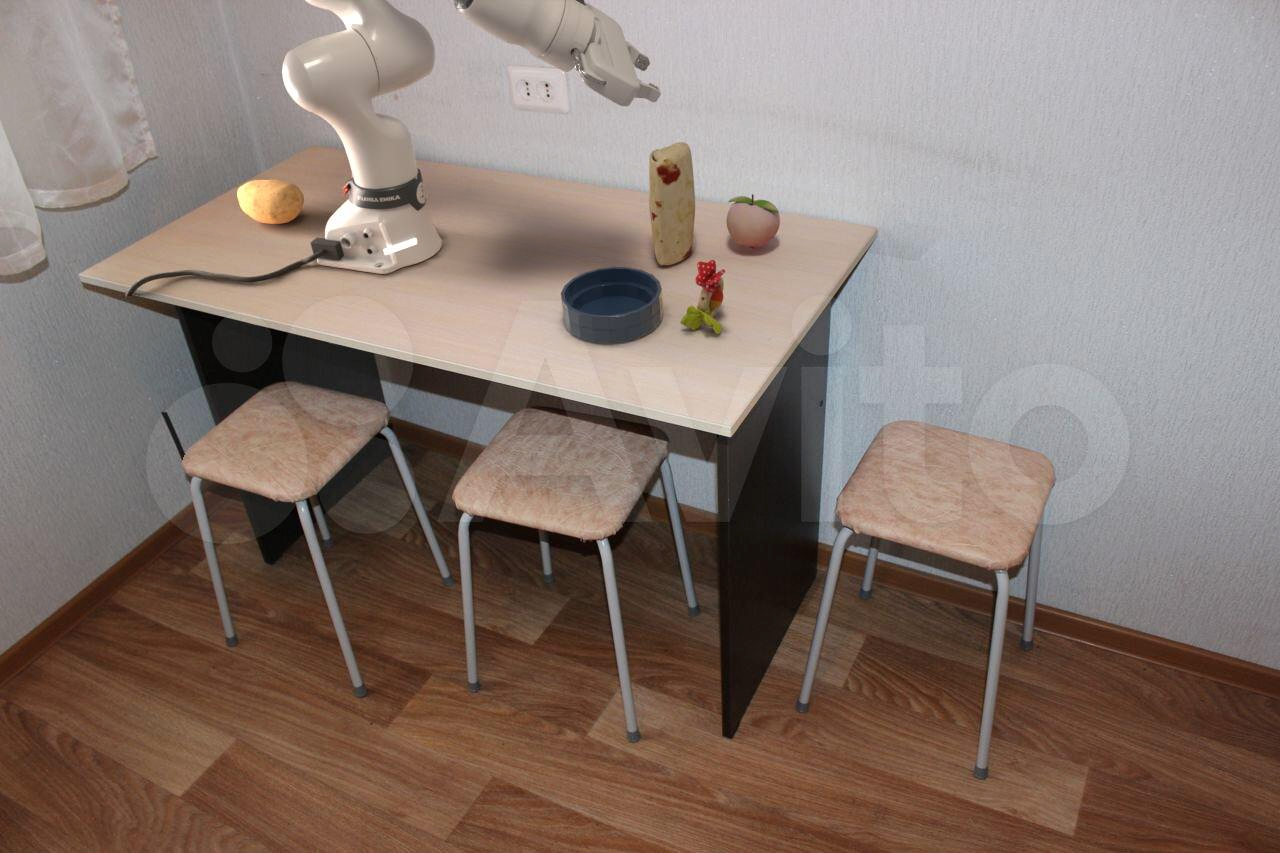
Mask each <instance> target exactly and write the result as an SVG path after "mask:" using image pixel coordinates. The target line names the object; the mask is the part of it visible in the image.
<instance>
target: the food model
mask: <svg viewBox="0 0 1280 853" xmlns="http://www.w3.org/2000/svg"><path fill="white" fill-rule="evenodd" d="M648 160H649V167H648V170H649V174H648V175H649V176H648V179H649V192H648V193H649V196H648V197H649V199H648V206H649V207H648V208H649V215H650V217H649V218H650V225H651V234H652V241H653V249H654V253H655V258H656V261H657V263H658V265H660V266H671V265H675V264H677V263H679V262H681V261H684V260H685V259H686V258H687V257H689V255H691V254H692V250H693V242H694V232H695V216H696V192H695V190H696V189H695V177H694V176H695V175H694V167H693V157H692V151H691V148H690V146H689V144H688V143H687V142H683V141H682V142H675V143H673V144H670V145H668V146H666V147H662V148H656V149H654V150H652V151H651V152H650V154H649V159H648Z"/></svg>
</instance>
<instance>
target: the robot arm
mask: <svg viewBox="0 0 1280 853" xmlns="http://www.w3.org/2000/svg"><path fill="white" fill-rule="evenodd" d="M304 1H305V2H306V3H307V4H309V5H311V6H313V7H316V8H319V9H323V10H327V11H330V12H332V13H334V14H335V15H336V16H337V17H338V18H339V19H340V20H341V21H342V23H343V24H344V26H345V28H346V29H344V30H340V31H336V32H333V33H329V34H325V35H322V36H318V37H315V38H311V39H310V40H307V41H305V42H303V43H302V44H300V45H297V46H296V47H294V48H292V49H291V50H288V52H286V54H285V56H284V59H283V62H282V70H281V71H282V73H281V74H282V81H283V84H284V87H285V89H286V91H287V93H288V95H289V96H290V98H291V99H292V100H293V101H294V102H295V104H297V105H298V106H299V107H301V108H302V109H304V110H305V111H307V112H310V113H313V114H315V115H316V116H318V117H320V118H322V119H323V120H325V121H326V122H327V123H328V124H329V125H330V126H331V127H332V128H333V129H334V131H335V132H336V133H337V135H338V136H339V138H340V140H341V143H342V144H343V147H344V151H345V153H346V157H347V159H348V163H349V167H350V170H351V178H349V179H348V180H347V181H346V182H345V185H344V186H343V187H342V189H341V191H343V193H342V194H343V196H346V195H347V194H348V199H347V200H346V201H345V202H344V203H343V204H341V206H340V207H339V208H338V209H337V210H336V211H335V212H334V213H333V214H332V215H331V216H330V217H329V219H328V221H327V222H326V225H325V229H324V237H318V236H317V237H315V238H314V239H313V240H311V241H310V243H309V244H310V247H311V251H312V255H310V256H307V257H305V258H303V259H300V260H298V261H294V262H293V263H291V264H289V265H286V266H284V267H282V268H279V269H278V270H275V271H273V272H270V273H265V274H261V275H256V276H241V275H233V274H225V273H214V272H210V271H209V272H208V271H203V270H197V269H183V270H182V269H181V270H175V271H174V270H173V271H167V272H160V273H154V274H150V275H147V276H145V277H144V276H143V277H142V278H140V279H138V280H137V281H135V283H133V284H132V285H131V286H130V287H129V289H127V292H126V293H125V297H131V296H133V295H134V293H135V292H137V290H138V289H139V288H140V287H142V286H143V285H146V284H147V283H150V282H152V281H157V280H161V279H168V278H169V279H170V278H177V277H183V276H195V277H201V278H207V279H211V280H212V279H213V280H221V281H230V282H236V283H258V282H263V281H268V280H272V279H274V278H277V277H280V276H282V275H284V274H287V273H289V272H291V271H293V270H295V269H297V268H300V267H302V266H304V265H307V264H310V263H311V262H314V261H316V263H317V264H318V265H320V266H324V267H332V268H339V269H344V270H352V271H359V272H366V273H371V274H372V273H373V274H379V275H388V274H391V273H393V272H395V271H397V270H399V269H402V268H405V267H408V266H413V265H416V264H419V263H422V262H424V261H426V260H428V259H430V258H432V257H434V256H436V254H437V253H438V252H439V251H440V250H441V248H442V246H443V240H442V238H441V237H440V235H439V233H438V231H437V229H436V227H435V224H434V221H433V219H432V217H431V214H430V211H429V208H428V205H427V194H426V187H425V184H424V180H423V175H422V172H421V169H420V168H419V167H418V163H417V159H416V153H415V148H414V144H413V139H412V134H411V132H410V130H409V128H408V127H407V125H406V124H404V122H403V121H401V120H400V119H399V118H396V117H393V116H391V115H387V114H383V113H378V112H375V108H374V106H373V99H375V98H376V97H380V96H383V95H387V94H390V93H392V92H396V91H399V90H402V89H406V88H408V87H411V86H413V85H414V84H416V83H418V82H419V81H421V80H423V79H424V78H426V77H428V76H429V75H430V74H431V73H432V72H433V69H434V67H435V63H436V47H435V44H434V40H433V38H432V36H431V33H429V30H427V28H426V27H425V26H424V25H423V24H422V23H421V22H420V21H418V20H417V19H416V18H413V17H411V16H409V15H407V14H405V13H403V12H401V11H400V10H398V9H397V8H396V7H394V5H392V4H391V3H390V2H389V1H388V0H304ZM453 4H454V8H455V10H456V11H457V12H458V13H459V14H460V15H461V16H463V17H464V18H465V19H466V20H468V21H469V22H471V23H472V24H473V25H475V26H476V27H478V28H480V29H481V30H483V31H484V32H486V33H488V34H490V35H491V36H494V37H495V38H497V39H498V40H501V41H503V42H506V43H507V44H510V45H515V46H519V47H522V48H523V49H525V50H526V51H527V52H529V53H530V55H532V56H533V57H535V58H537V59H539V60H541V61H543V62H545V63H546V64H549V65H551V66H553V67H555V68H557V69H559V70H561V71H562V72H564V73H569V72H571V71H573V69H575V70H576V71H577V72H578V73H579V76H580V79H581V81H582V83H583V84H584V85H585V86H586V87H587V88H589V89H590V90H592V91H594V92H595V93H597V94H598V95H600V96H602V97H603V98H606V99H608V100H609V101H611V102H612V103H614V104H616V105H619V106H621V107H630V106H631V104H632V102H633V101H634V99H645V100H648V101H649V102H651V103H656V102H658V100H659V98H661V91H660V88H659V86H657V85H655V84H653V83H651V82H649V83H645V82H643V81H642V80H641V79H640V78H638V76H637V73H636V69H637V70H640V71H642V72H645V71H647V69H648V68H649V66H650V64H651V63H650V62H651V61H650V58H649V56H648V55H646V54H645V53H643V52H641V51H640V50H638V49H637V48H636V47H635V46H634V45H632V43H630V42H629V41H627V40H626V38H625V35H624V32H623V29H622V26H621V25H620V24H619V23H618V22H617V21H616V20H615V19H614V18H612V17H611V16H610V15H608V14H606V13H605V12H603V11H602V10H599V9H598V8H597V7H595V6H593V5H591V4H590V3H588V2H586V1H585V0H453ZM635 68H636V69H635ZM160 413H161V416H162V418H163V420H164V422H165V425H166V427H167V429H168V431H169V433H170V436H171V438H172V440H173V443H174V445H175V447H176V450H177V452H178V455H179V457H180V459H181V460H180V461H182V460H183V457H184V455H186V453H185V450H184V447H183V446H182V443H181V441H180V439H179V436H178V433H177V432H176V429H175V427H174V425H173V423H172V420H171V418H170V416H169V414H168V412H167V411H160Z"/></svg>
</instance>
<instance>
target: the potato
mask: <svg viewBox="0 0 1280 853" xmlns="http://www.w3.org/2000/svg"><path fill="white" fill-rule="evenodd" d="M236 194H237V196H236V197H237V200H238V203H239V204H238V205H239V206H240V209H241V211H243V212H244V213H245V214H246V215H247V216H248V217H250V218H251V219H252V220H254V221H256V222H259V223H262V224H267V225H268V224H270V225H271V224H273V225H276V224H277V225H279V224H287V223H290V222H291V221H293V220H295V219H296V218H297V217H298V216H299V215H300V213H301V212H302V210H303V207H304V203H305V198H304V194H303V192H302V190H301V189H300V187H299V186H297V185H295V184H294V183H290V182H286V181H284V180H281V179H253V180H250V181H247V182H246V183H244V184H242V185H241V186H240V187H238V189H237V193H236Z"/></svg>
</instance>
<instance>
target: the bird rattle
mask: <svg viewBox="0 0 1280 853" xmlns="http://www.w3.org/2000/svg"><path fill="white" fill-rule="evenodd" d="M696 267H697V275H696V276H695V278H694V281H695V284H696V285H697V286H699V287H701V292H700V294H699V297H698V303H697V306H696V307H695V306H694V305H691V304H690V305H689V306H687V309H686V314H685V315H683V316H682V318H681V320H680V322H679V323H680V324H681V325H683V326H685V327H687V328H690V330H692V331H696V330H698V329H699V327H700V326H701V325H702V323H704V324H705V326H708V327H710V328H712V329H713V331H714V333H715V334H717V335H718V334H720V333H721V331H722V329H723V327H722V324H721V323H720V322H719V321H718V320H716V319H715V318H714V317H715V316H717V313H718V310H719V307H720V306H721V305H722V303H723V301H724V288H725V287H724V286H725V285H724V278H723V277H722V276H723V275H724V274H725V273H726V270H725V269H724V268H723V269H721V270H718V272H717V263H716V260H715V259H711V260H709V261H708V262H706V261H701V260H700V261H697V263H696Z"/></svg>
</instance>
